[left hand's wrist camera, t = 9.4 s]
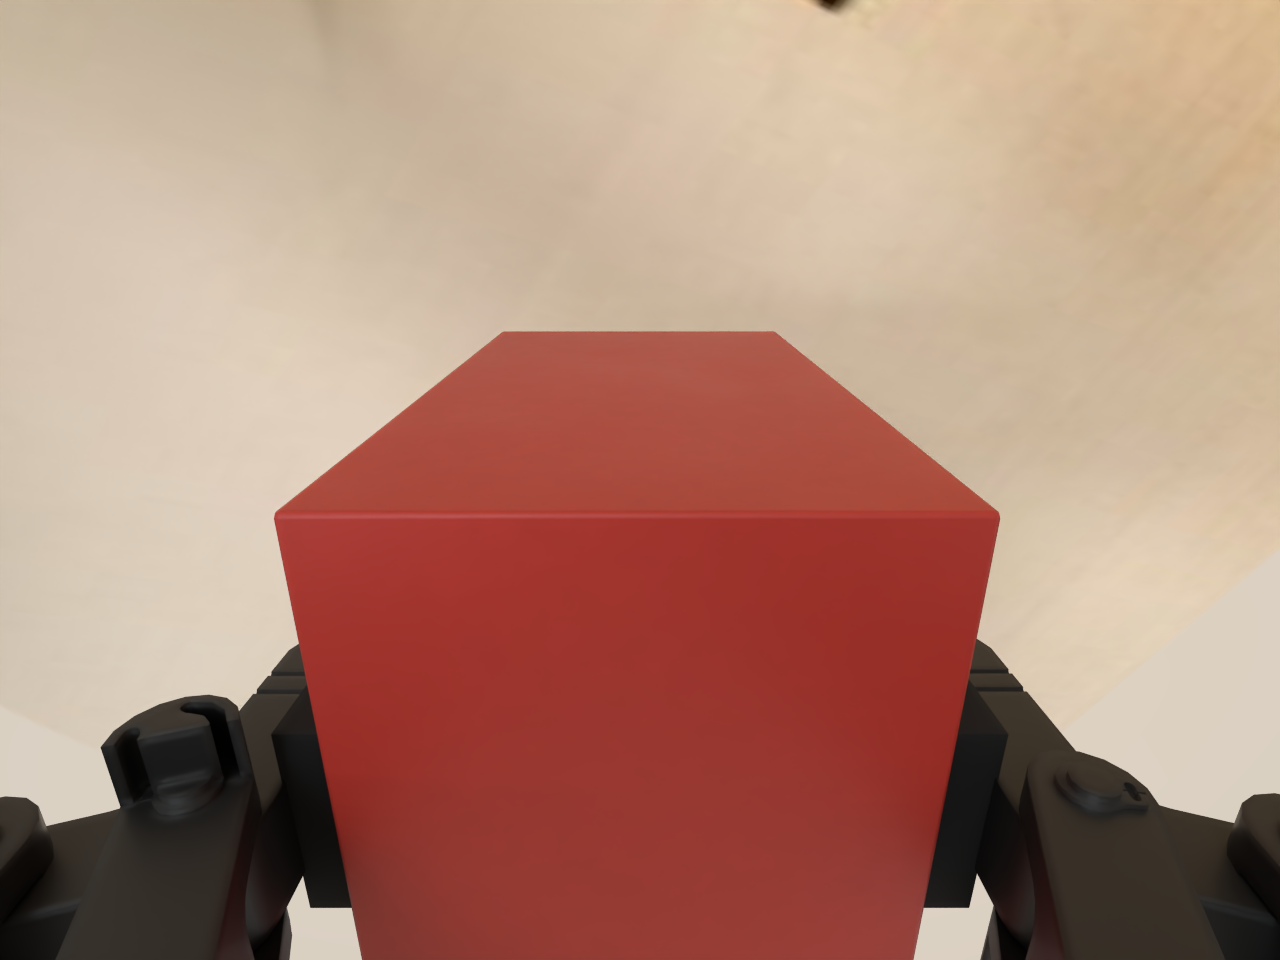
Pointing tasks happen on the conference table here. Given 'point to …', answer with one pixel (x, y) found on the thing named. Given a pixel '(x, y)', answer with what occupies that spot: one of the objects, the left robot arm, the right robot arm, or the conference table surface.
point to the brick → (637, 656)
